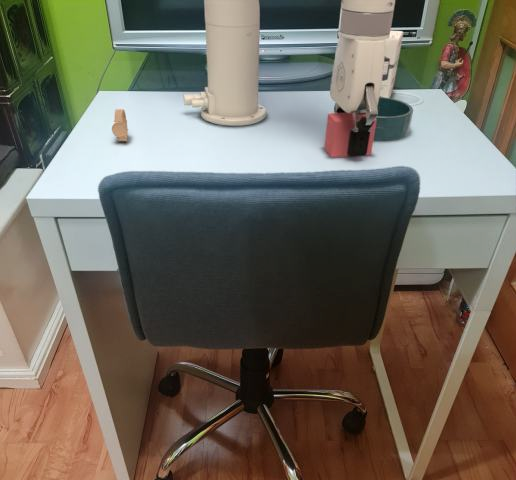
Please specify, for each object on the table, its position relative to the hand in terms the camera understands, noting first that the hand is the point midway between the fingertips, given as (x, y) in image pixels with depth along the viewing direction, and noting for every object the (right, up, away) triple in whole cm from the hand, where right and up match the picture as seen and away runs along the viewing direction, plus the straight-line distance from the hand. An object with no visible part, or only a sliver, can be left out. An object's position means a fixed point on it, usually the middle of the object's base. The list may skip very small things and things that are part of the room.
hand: (348, 145), depth 86 cm
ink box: (+11, +21, +26) cm, 35 cm away
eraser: (0, -1, +1) cm, 1 cm away
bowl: (+7, +7, +10) cm, 13 cm away
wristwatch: (-39, +2, +3) cm, 39 cm away
